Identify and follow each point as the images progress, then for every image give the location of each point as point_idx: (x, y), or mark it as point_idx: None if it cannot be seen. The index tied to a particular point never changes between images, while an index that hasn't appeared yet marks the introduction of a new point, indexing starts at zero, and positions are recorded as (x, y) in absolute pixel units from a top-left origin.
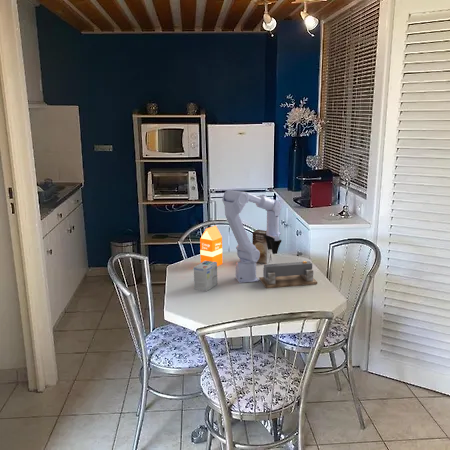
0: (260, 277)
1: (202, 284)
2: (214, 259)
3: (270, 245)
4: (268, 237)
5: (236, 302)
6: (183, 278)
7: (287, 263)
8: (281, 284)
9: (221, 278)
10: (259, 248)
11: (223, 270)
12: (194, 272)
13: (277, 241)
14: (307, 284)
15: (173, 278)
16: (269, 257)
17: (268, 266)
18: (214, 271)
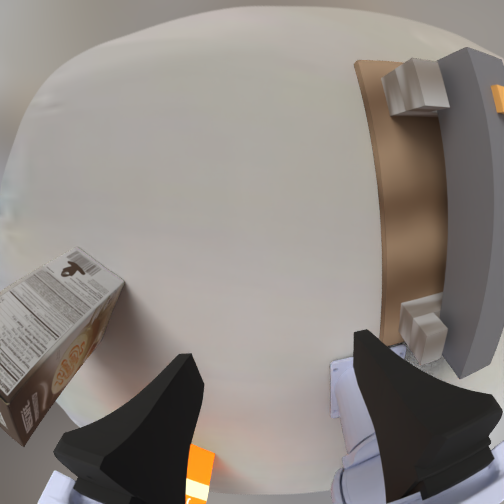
0: (386, 342)
1: None
2: (199, 471)
3: (184, 400)
4: (170, 495)
5: (497, 376)
6: (302, 484)
7: (500, 238)
8: None
9: (326, 440)
10: (72, 362)
11: (238, 438)
12: None
13: (476, 440)
14: None
15: (298, 491)
16: (85, 275)
17: (489, 355)
18: None
